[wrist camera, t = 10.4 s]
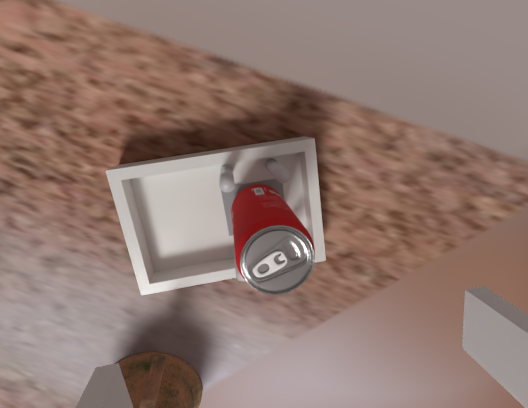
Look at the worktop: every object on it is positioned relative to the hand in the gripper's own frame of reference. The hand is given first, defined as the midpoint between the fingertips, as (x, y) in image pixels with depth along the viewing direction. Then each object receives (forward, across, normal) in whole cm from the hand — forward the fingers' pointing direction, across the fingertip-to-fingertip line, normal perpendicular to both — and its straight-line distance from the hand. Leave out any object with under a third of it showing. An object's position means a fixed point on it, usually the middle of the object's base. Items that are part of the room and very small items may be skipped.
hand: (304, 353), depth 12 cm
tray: (+21, -3, 0) cm, 21 cm away
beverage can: (+20, 0, 0) cm, 20 cm away
